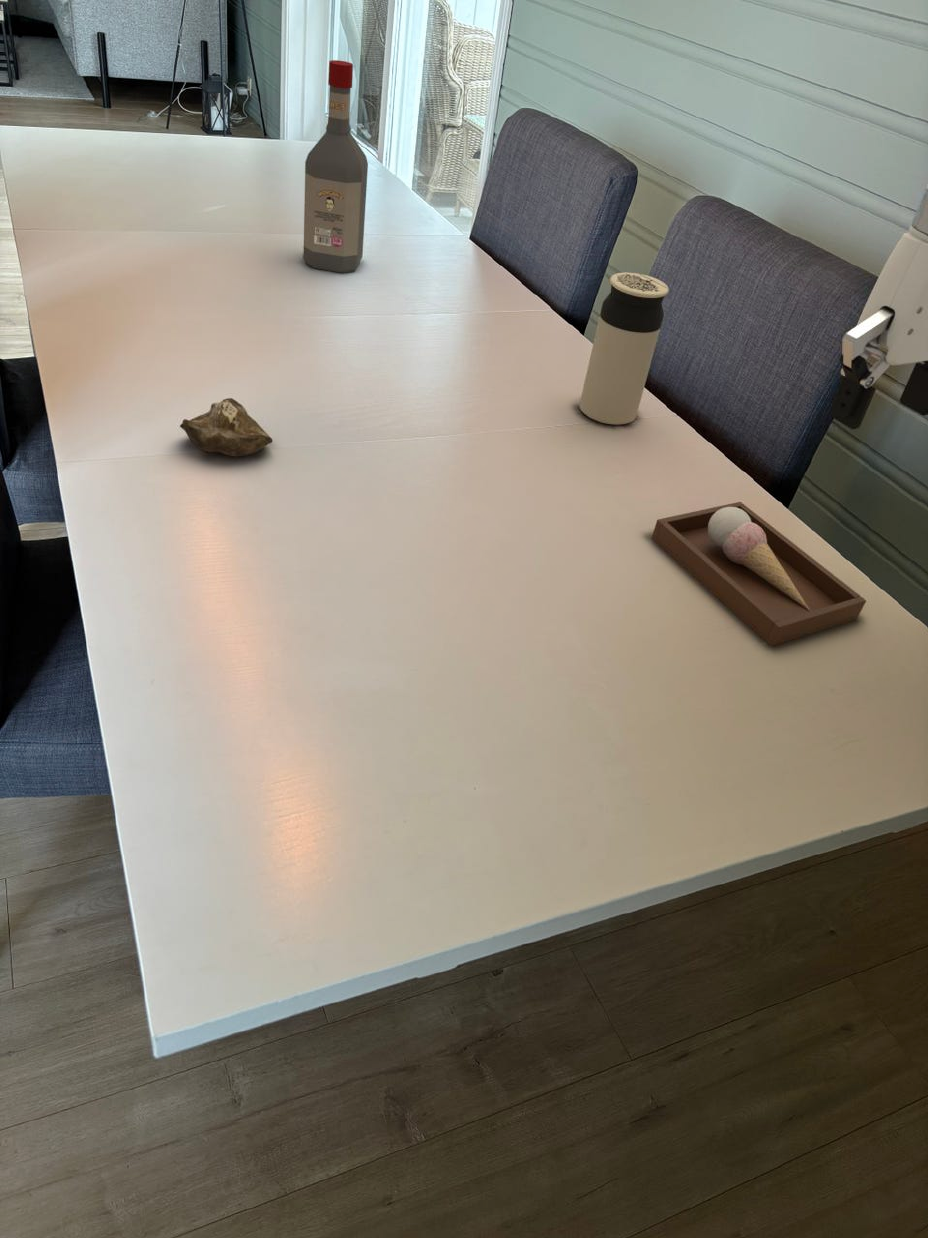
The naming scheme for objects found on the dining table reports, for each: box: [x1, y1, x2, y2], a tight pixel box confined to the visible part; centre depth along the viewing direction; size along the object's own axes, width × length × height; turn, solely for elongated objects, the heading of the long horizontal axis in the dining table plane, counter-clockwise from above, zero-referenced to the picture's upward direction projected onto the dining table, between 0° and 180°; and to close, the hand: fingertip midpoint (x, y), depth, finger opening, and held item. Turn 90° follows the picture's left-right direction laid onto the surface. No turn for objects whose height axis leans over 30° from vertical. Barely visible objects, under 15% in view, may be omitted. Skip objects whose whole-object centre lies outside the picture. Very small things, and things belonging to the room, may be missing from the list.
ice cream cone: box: [708, 507, 810, 611], centre depth 98 cm, size 5×5×15 cm
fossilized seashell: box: [179, 397, 273, 458], centre depth 104 cm, size 8×7×10 cm
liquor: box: [302, 59, 369, 274], centre depth 148 cm, size 9×9×30 cm
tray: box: [651, 501, 867, 647], centre depth 99 cm, size 20×13×2 cm, turn 29°
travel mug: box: [578, 272, 670, 426], centre depth 120 cm, size 8×8×18 cm
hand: (879, 415), depth 84 cm, fingers open, 9 cm apart
